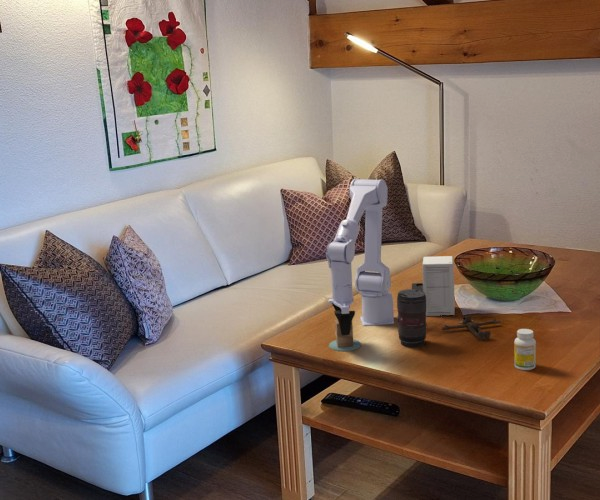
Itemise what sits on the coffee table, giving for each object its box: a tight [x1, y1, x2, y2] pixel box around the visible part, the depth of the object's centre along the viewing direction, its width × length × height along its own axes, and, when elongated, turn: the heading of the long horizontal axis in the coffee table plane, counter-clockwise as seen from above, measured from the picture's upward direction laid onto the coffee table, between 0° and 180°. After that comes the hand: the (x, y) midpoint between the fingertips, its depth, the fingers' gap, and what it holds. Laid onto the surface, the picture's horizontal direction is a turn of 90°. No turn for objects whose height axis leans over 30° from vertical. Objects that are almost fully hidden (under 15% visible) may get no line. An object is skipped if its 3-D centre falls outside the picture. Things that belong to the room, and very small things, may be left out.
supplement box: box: [421, 255, 456, 317], centre depth 256 cm, size 10×9×17 cm
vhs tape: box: [411, 282, 423, 291], centre depth 277 cm, size 14×8×2 cm, turn 172°
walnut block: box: [334, 318, 354, 348], centre depth 233 cm, size 4×4×7 cm
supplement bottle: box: [513, 328, 537, 371], centre depth 211 cm, size 5×5×10 cm
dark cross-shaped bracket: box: [441, 314, 501, 341], centre depth 238 cm, size 18×4×14 cm
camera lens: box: [396, 288, 427, 348], centre depth 231 cm, size 8×8×15 cm
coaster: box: [328, 338, 362, 352], centre depth 234 cm, size 9×9×1 cm
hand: (344, 330), depth 233 cm, fingers open, 7 cm apart
